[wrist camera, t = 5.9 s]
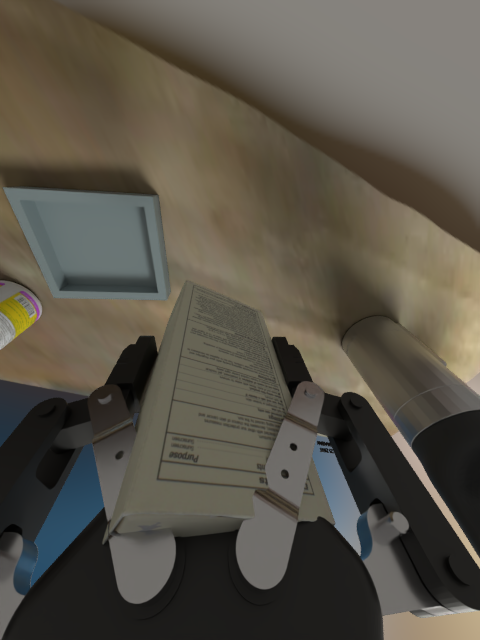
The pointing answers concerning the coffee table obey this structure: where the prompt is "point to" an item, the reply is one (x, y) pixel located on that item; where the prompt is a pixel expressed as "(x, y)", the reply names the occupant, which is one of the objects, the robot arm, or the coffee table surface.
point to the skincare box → (208, 424)
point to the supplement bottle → (16, 310)
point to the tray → (95, 242)
